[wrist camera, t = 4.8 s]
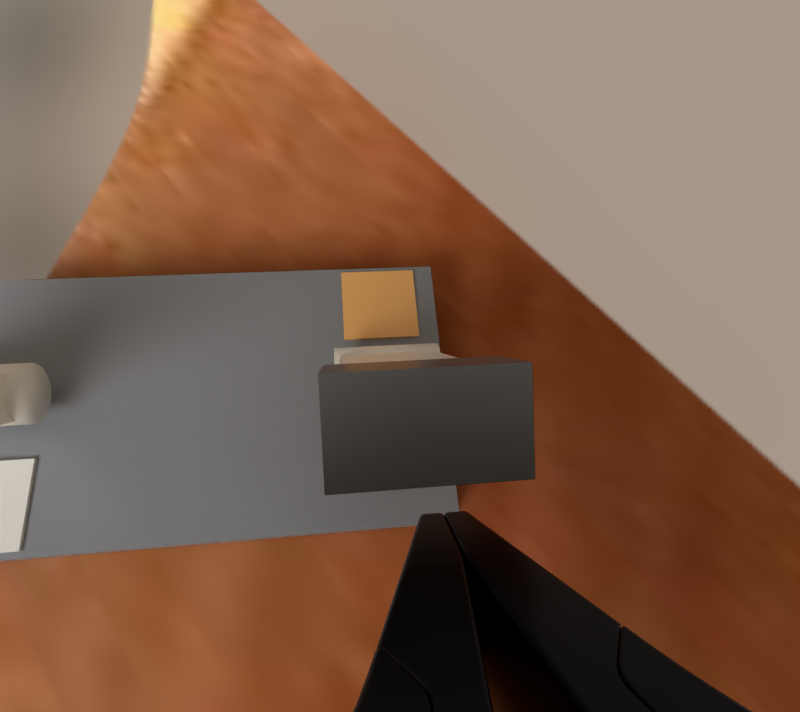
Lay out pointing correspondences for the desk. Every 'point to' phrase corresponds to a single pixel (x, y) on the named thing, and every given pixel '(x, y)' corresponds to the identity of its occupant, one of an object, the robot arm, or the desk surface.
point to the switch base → (193, 407)
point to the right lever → (423, 419)
